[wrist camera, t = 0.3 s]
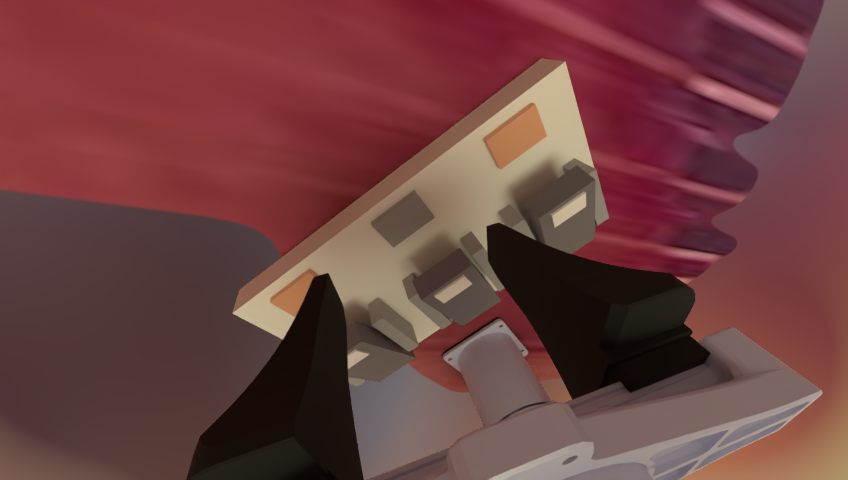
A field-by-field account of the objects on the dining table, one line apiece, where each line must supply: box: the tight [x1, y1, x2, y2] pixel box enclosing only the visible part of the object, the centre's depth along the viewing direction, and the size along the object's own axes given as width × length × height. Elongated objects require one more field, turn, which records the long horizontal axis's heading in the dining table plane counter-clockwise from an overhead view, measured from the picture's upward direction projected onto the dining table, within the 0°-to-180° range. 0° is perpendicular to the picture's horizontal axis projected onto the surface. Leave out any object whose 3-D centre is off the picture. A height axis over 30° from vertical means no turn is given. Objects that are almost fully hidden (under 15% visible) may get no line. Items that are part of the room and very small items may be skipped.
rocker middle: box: [412, 248, 501, 326], centre depth 23 cm, size 8×4×2 cm, turn 34°
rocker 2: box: [523, 165, 596, 254], centre depth 22 cm, size 8×4×2 cm, turn 34°
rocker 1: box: [347, 322, 416, 381], centre depth 25 cm, size 8×4×2 cm, turn 34°
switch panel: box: [233, 58, 609, 387], centre depth 24 cm, size 14×27×5 cm, turn 124°
